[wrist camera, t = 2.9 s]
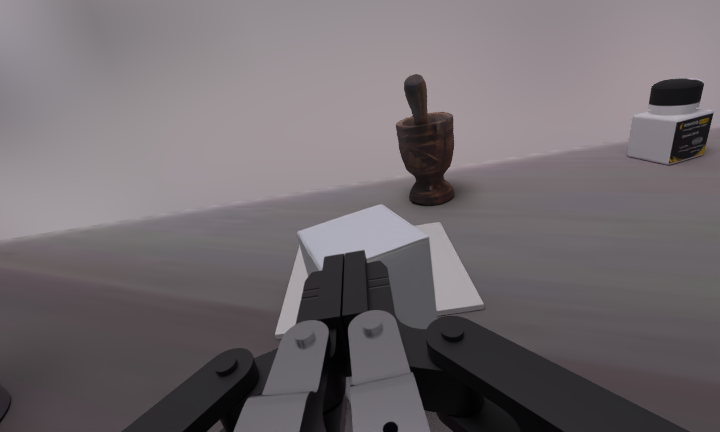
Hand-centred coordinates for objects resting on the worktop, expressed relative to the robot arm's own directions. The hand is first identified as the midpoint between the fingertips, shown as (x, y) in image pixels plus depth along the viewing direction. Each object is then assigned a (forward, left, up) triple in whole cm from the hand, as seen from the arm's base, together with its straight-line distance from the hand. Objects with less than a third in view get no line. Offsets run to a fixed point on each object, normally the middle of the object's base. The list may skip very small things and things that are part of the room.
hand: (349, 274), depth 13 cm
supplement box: (0, +10, -16) cm, 19 cm away
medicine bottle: (+50, +45, -16) cm, 69 cm away
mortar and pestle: (+11, +42, -16) cm, 47 cm away
